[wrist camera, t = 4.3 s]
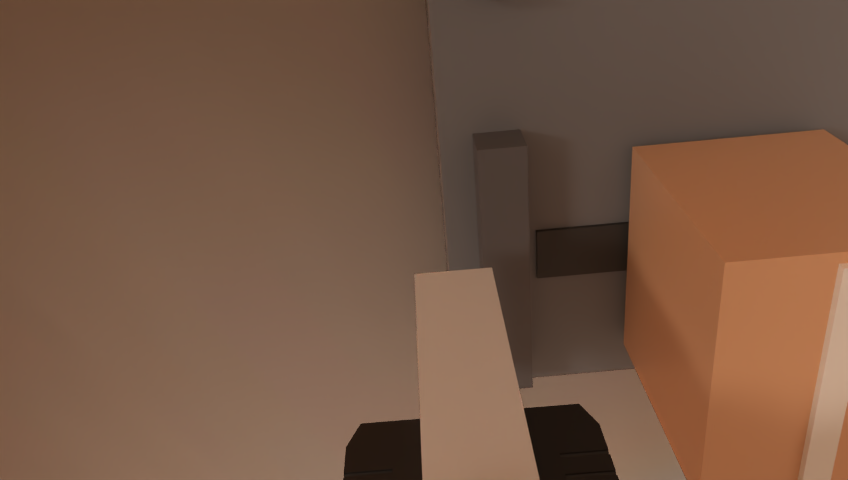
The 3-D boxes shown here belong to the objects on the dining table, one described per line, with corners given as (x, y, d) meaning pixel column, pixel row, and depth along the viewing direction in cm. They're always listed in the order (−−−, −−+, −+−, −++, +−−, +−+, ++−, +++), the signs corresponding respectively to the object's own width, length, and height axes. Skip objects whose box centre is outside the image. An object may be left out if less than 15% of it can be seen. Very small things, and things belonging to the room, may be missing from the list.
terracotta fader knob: (623, 343, 18) (700, 510, 14) (632, 146, 16) (728, 267, 11) (790, 328, 18) (924, 491, 14) (823, 129, 16) (997, 243, 11)
